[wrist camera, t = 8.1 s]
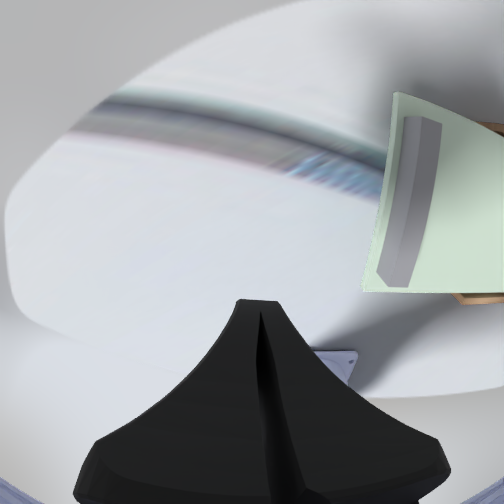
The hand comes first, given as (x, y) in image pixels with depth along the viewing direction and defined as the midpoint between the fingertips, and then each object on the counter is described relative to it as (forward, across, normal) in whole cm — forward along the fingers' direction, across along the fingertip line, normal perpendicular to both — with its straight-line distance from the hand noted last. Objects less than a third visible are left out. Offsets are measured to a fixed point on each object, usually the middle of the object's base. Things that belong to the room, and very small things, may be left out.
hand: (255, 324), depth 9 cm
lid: (+5, -13, -4) cm, 14 cm away
